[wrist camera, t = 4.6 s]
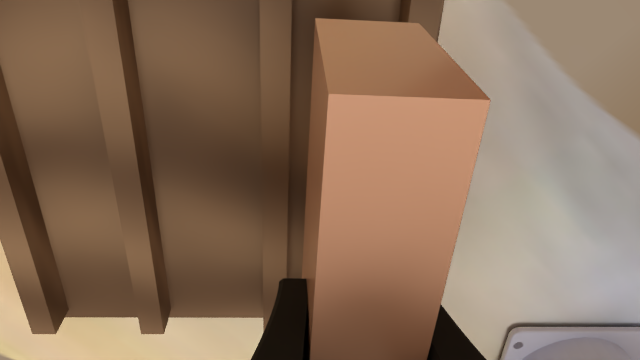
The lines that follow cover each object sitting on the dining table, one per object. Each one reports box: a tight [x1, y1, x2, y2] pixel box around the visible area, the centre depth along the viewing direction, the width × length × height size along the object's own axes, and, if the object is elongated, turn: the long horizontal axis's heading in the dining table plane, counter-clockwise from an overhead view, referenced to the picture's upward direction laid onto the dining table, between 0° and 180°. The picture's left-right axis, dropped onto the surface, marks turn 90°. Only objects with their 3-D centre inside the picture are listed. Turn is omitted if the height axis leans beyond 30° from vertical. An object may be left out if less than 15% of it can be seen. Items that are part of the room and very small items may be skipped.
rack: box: [0, 0, 444, 334], centre depth 20 cm, size 16×17×2 cm
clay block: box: [302, 18, 491, 360], centre depth 13 cm, size 14×2×5 cm, turn 177°
